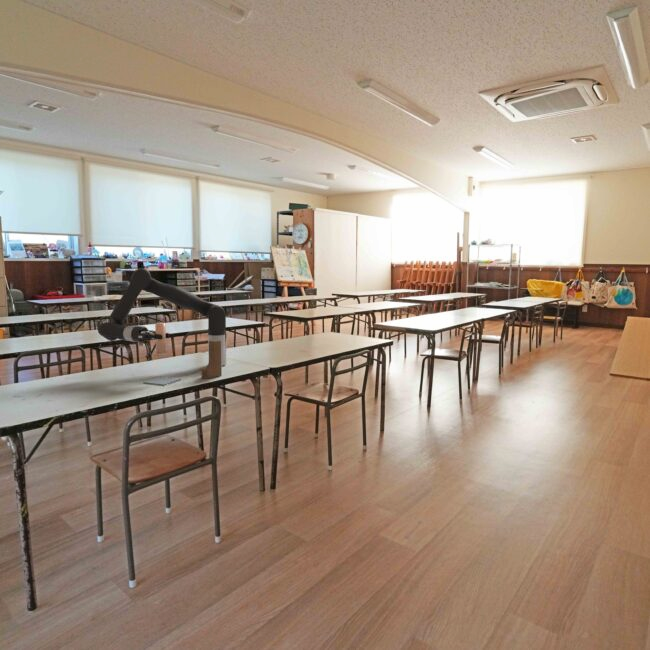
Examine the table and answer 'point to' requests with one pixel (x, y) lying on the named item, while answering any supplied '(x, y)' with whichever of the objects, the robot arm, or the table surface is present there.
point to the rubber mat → (161, 380)
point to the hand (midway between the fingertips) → (165, 336)
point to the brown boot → (213, 360)
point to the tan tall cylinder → (160, 342)
